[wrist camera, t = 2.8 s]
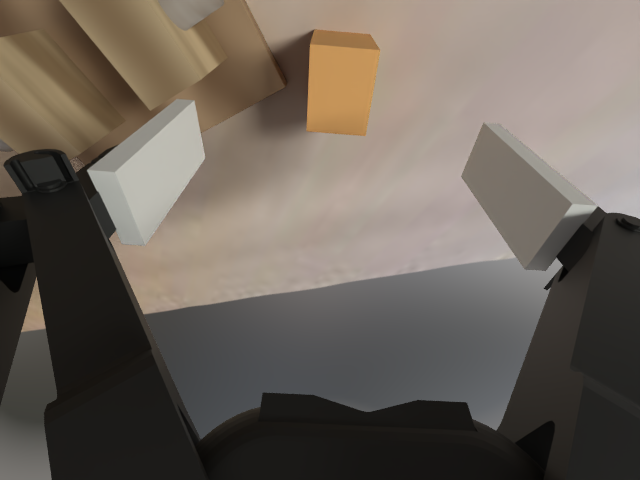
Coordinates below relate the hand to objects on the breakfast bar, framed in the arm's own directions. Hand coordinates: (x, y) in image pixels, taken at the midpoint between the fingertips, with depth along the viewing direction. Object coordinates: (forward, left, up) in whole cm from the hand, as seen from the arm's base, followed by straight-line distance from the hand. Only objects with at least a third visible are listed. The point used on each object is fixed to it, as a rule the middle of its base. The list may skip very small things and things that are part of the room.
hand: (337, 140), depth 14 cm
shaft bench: (+14, -8, -12) cm, 20 cm away
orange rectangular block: (0, 0, -12) cm, 12 cm away
